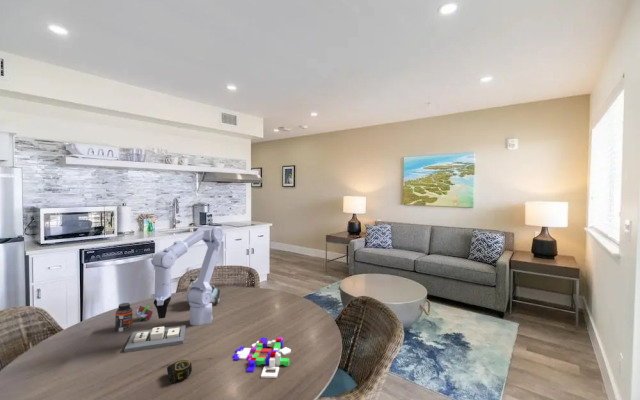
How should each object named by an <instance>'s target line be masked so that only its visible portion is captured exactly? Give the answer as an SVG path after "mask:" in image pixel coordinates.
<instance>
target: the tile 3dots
mask: <svg viewBox="0 0 640 400" xmlns="http://www.w3.org/2000/svg"><path fill="white" fill-rule="evenodd" d="M148 338H149V331H148V332H141V333H137V334H136V336H135V338H134V343H139V342H146V341H148Z"/></svg>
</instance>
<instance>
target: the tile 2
mask: <svg viewBox="0 0 640 400" xmlns="http://www.w3.org/2000/svg"><path fill="white" fill-rule="evenodd" d="M175 337H180V328H172V329H168V333H167V337H166V339H168V338H175Z"/></svg>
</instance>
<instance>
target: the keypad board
mask: <svg viewBox="0 0 640 400" xmlns="http://www.w3.org/2000/svg"><path fill="white" fill-rule="evenodd" d="M172 328H180V333H179V337H175V338H168V339H167V333H168V329H172ZM152 330H153V328H152V329H145V330H144V329H143V330H138V331H133V332H132V333H131V335H130V338H129V340H128V341H127V343H126V346H125V347H124V350H123V351H124V353H130V352H131V353H132V352H138V351H145V350H151V349H152V350H153V349H158V348H165V347H171V346H178V345H184V340H185V332H186V325H185V324H184V325H176V326H168V327H165V328H164V338H163V339H160V340H153V341H150V339H151V332H152ZM148 331H149V338H148V340H147V341H146V342H139V343H134V338H135V336H136V334H137V333H141V332H148Z"/></svg>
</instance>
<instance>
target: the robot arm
mask: <svg viewBox="0 0 640 400" xmlns="http://www.w3.org/2000/svg"><path fill="white" fill-rule="evenodd" d="M196 229H197V230H196V231H195V232H193V233H191V235H189V236H188V237H187V238H185V239H184V240H182V241H181V240H177V241H176V240H175V241H173V244H172V245H170V246H168V247H165V248H164V249H163V250H162V251H157V252H156V253H155V254H154V255H152V258H151V259H150V261H151V265H152V266H153V270H154V283H153V285H154V290H153V291H154V292H153V293H151V295H150V299H151V298H154V300H153V305H154V306H155V309H156V311H157V316H158V319H165V318H166V315H167V311H168V307H169V304H170V302H171V299H172V267H173V266H174V265H175V263H176V261H177V260H178V259H179V258H180V257H182V256H183V255H184V254H186V253H188V249H189V248H190V247H192V246H193V245H195V244H196V243H198V242H200V241H203V243H205V244H206V247H207V248H206V249H207V250H206V253H205V256H204V259H203V261H202V264H201V267H200V269H199V273H198V276H197V278H198V279H197V281H196V282H195V283H193V284H192V285H191V288H190V289H189V291H188V290H187V292H186V296H185V298H186V299H185V300H186V302H188V305H189V324H190V325H191V326H202V325H208V324H212V323H213V321H212V320H213V317H214V316H213V306H212V303H209V302H210V300H211V297H212V295H211V293H212V287H211V286H210V285H211V284H210V282H211V279H212V276H213V273H214V269H215V266H216V264H217V260H218V257H219V254H220V252H221V251H220V250H221V247H222V240H223V237H224V235H225V234H224V230H223V228H222V227H221V226H214V225H213V226H212V225H206V224H205V225H201V226H199V227H198V228H196ZM200 288H202V289H203V290H201V289H200Z"/></svg>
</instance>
